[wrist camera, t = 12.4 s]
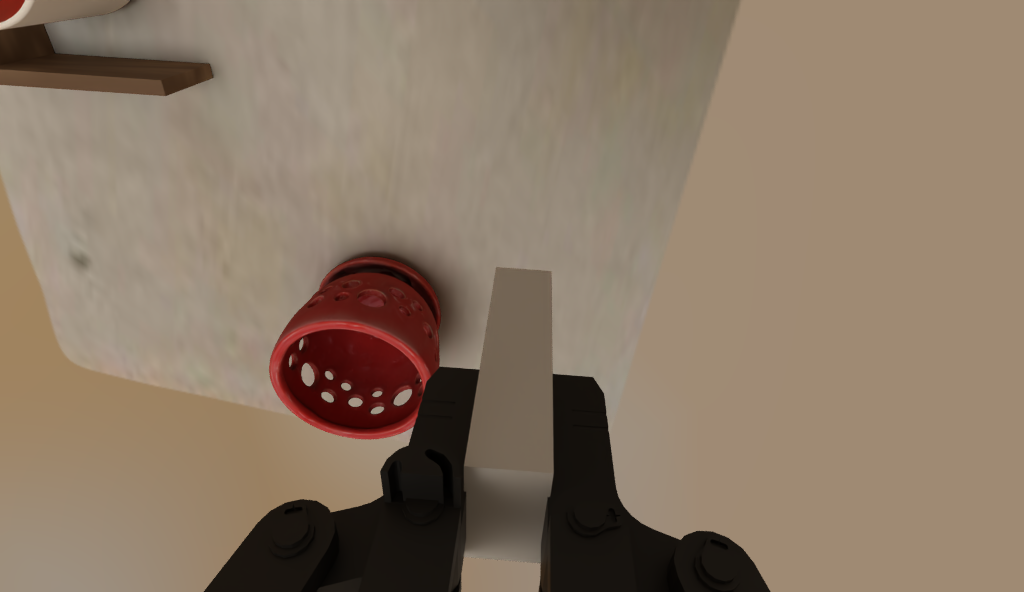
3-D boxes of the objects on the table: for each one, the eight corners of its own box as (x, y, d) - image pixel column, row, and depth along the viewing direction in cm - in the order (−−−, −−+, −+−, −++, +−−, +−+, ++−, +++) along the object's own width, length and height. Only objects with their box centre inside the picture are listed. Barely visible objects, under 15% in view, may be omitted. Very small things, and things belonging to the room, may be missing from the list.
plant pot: (342, 356, 55) (296, 445, 45) (304, 247, 48) (240, 324, 38) (463, 352, 54) (444, 443, 44) (443, 239, 47) (414, 317, 37)
